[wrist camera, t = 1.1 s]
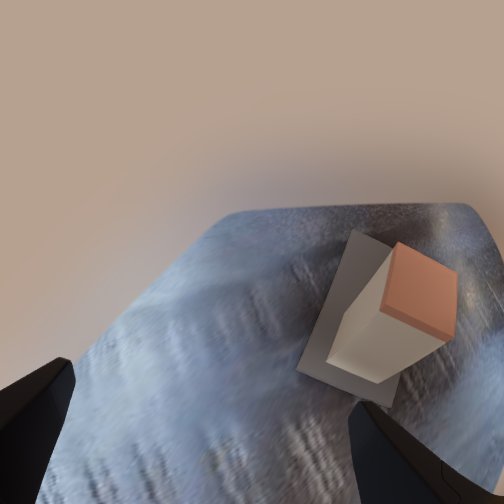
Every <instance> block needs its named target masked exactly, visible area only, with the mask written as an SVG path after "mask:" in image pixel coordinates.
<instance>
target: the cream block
mask: <svg viewBox="0 0 504 504" xmlns="http://www.w3.org/2000/svg"><path fill="white" fill-rule="evenodd" d="M456 309H457V273H456V272H454V271H452V270H450V269H449V268H447V267H445V266H443V265H441V264H439V263H438V262H436V261H434V260H432V259H430V258H428V257H427V256H425V255H423V254H421V253H419V252H417V251H415V250H413V249H411V248H410V247H408V246H406V245H404V244H402V243H400V242H398V243H397V244H396V245H395V247H394V248H393V250H392V251H391V253H390V254H389V255H388V257H387V258H386V260H385V261H384V262H383V264H382V265H381V266H380V268H379V269H378V270H377V272H376V273H375V275H374V276H373V277H372V279H371V280H370V281H369V282H368V284H367V285H366V286H365V288H364V289H363V290H362V292H361V293H360V294H359V295H358V297H357V298H356V299H355V300H354V302H353V303H352V304H351V305H350V307H349V308H348V309H347V310H346V312H345V313H344V315H343V318H342V321H341V324H340V326H339V329H338V332H337V335H336V337H335V340H334V342H333V345H332V348H331V350H330V353H329V355H328V358H327V360H326V362H327V363H330V364H332V365H334V366H336V367H339V368H341V369H343V370H346V371H348V372H350V373H352V374H355V375H357V376H360V377H362V378H364V379H367V380H369V381H372V382H374V383H377V384H378V383H380V382H382V381H384V380H386V379H387V378H389V377H391V376H393V375H395V374H396V373H398V372H400V371H402V370H404V369H405V368H407V367H409V366H410V365H412V364H414V363H415V362H417V361H419V360H420V359H422V358H424V357H425V356H427V355H428V354H430V353H431V352H433V351H435V350H436V349H438V348H439V347H441V346H442V345H444V344H445V343H447V342H448V341H450V340H451V339H452V338H454V335H455V324H456Z"/></svg>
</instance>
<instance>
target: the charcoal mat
mask: <svg viewBox="0 0 504 504" xmlns="http://www.w3.org/2000/svg"><path fill="white" fill-rule="evenodd" d="M392 250H393V248H392V247H390V246H388V245H386V244H384V243H381V242H379V241H377V240H375V239H373V238H371V237H369V236H367V235H365V234H363V233H361V232H359V231H357V230H355V229H352V230H351V233H350V236H349V239H348V241H347V244H346V247H345V250H344V252H343V255H342V258H341V261H340V263H339V266H338V269H337V271H336V274H335V277H334V279H333V282H332V284H331V287H330V289H329V292H328V294H327V297H326V299H325V302H324V304H323V307H322V309H321V312H320V314H319V316H318V319H317V321H316V323H315V326H314V328H313V330H312V333H311V335H310V337H309V340H308V342H307V344H306V346H305V349H304V351H303V353H302V355H301V358H300V360H299V362H298V364H297V366H296V368H295V370H298V371H300V372H302V373H304V374H306V375H309V376H311V377H313V378H315V379H318V380H320V381H322V382H325V383H327V384H329V385H332V386H334V387H336V388H339V389H341V390H343V391H346V392H348V393H351V394H353V395H356V396H358V397H361V398H363V399H366V400H371V401H372V402H374V403H376V404H379V405H381V406H384V407H387V408H390V407H392V404H393V400H394V397H395V394H396V390H397V386H398V383H399V379H400V375H401V371H400V372H398V373H396V374H395V375H393V376H391V377H389V378H387V379H386V380H384V381H382V382H380V383H378V384H377V383H374V382H372V381H369V380H367V379H364V378H362V377H360V376H357V375H355V374H352V373H350V372H348V371H346V370H343V369H341V368H339V367H336V366H334V365H332V364H330V363H327V362H326V360H327V358H328V355H329V353H330V350H331V348H332V345H333V342H334V340H335V337H336V335H337V332H338V329H339V326H340V324H341V321H342V318H343V315H344V313H345V312H346V310H347V309H348V308H349V307H350V305H351V304H352V303H353V302H354V300H355V299H356V298H357V297H358V295H359V294H360V293H361V292H362V290H363V289H364V288H365V286H366V285H367V284H368V282H369V281H370V280H371V279H372V277H373V276H374V275H375V273H376V272H377V270H378V269H379V268H380V266H381V265H382V264H383V262H384V261H385V260H386V258H387V257H388V255H389V254H390V253H391V251H392Z"/></svg>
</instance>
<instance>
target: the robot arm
mask: <svg viewBox="0 0 504 504" xmlns="http://www.w3.org/2000/svg"><path fill="white" fill-rule="evenodd" d="M75 383H76V378H75V374H74V370H73V365H72V362H71V361H70V360H68V359H65V358H62V357H58V358H56V359H54V360H53V361H51V362H49V363H47V364H46V365H44V366H42V367H40V368H39V369H37V370H35V371H33V372H32V373H30V374H28V375H26V376H25V377H23V378H21V379H19V380H18V381H16V382H14V383H13V384H11V385H9V386H7V387H6V388H4V389H2V390H0V504H35V502H36V499H37V496H38V493H39V490H40V487H41V483H42V481H43V478H44V475H45V472H46V469H47V466H48V463H49V461H50V458H51V455H52V453H53V450H54V447H55V445H56V442H57V440H58V437H59V435H60V432H61V430H62V427H63V424H64V421H65V418H66V414H67V411H68V407H69V404H70V400H71V397H72V394H73V391H74V387H75ZM348 427H349V435H350V445H351V454H352V461H353V466H354V471H355V475H356V480H357V485H358V490H359V494H360V499H361V504H504V496H498V495H494V494H492V493H490V492H488V491H486V490H485V489H483V488H481V487H480V486H478V485H476V484H475V483H473V482H472V481H470V480H468V479H467V478H465V477H464V476H462V475H461V474H460V473H458V472H457V471H455V470H454V469H453V468H451V467H450V466H449V465H448V464H446V463H445V462H444V461H443V460H441V459H440V458H439V457H438V456H436V455H435V454H434V453H433V452H432V451H430V450H429V449H428V448H427V447H426V446H424V445H423V444H422V443H421V442H419V441H418V440H417V439H416V438H415V437H414V436H412V435H411V434H410V433H409V432H408V431H406V430H405V429H404V428H403V427H402V426H400V425H399V424H398V423H397V422H396V421H395V420H393V419H392V418H391V417H390V416H389V415H388V414H386V413H385V412H384V411H383V410H382V409H381V408H379V407H378V406H377V405H376V404H375V403H374V402H372V401H371V400H361V401H359V402H358V403H357V404H356V406H355V407H354V409H353V410H352V412H351V414H350V415H349V418H348Z"/></svg>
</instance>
